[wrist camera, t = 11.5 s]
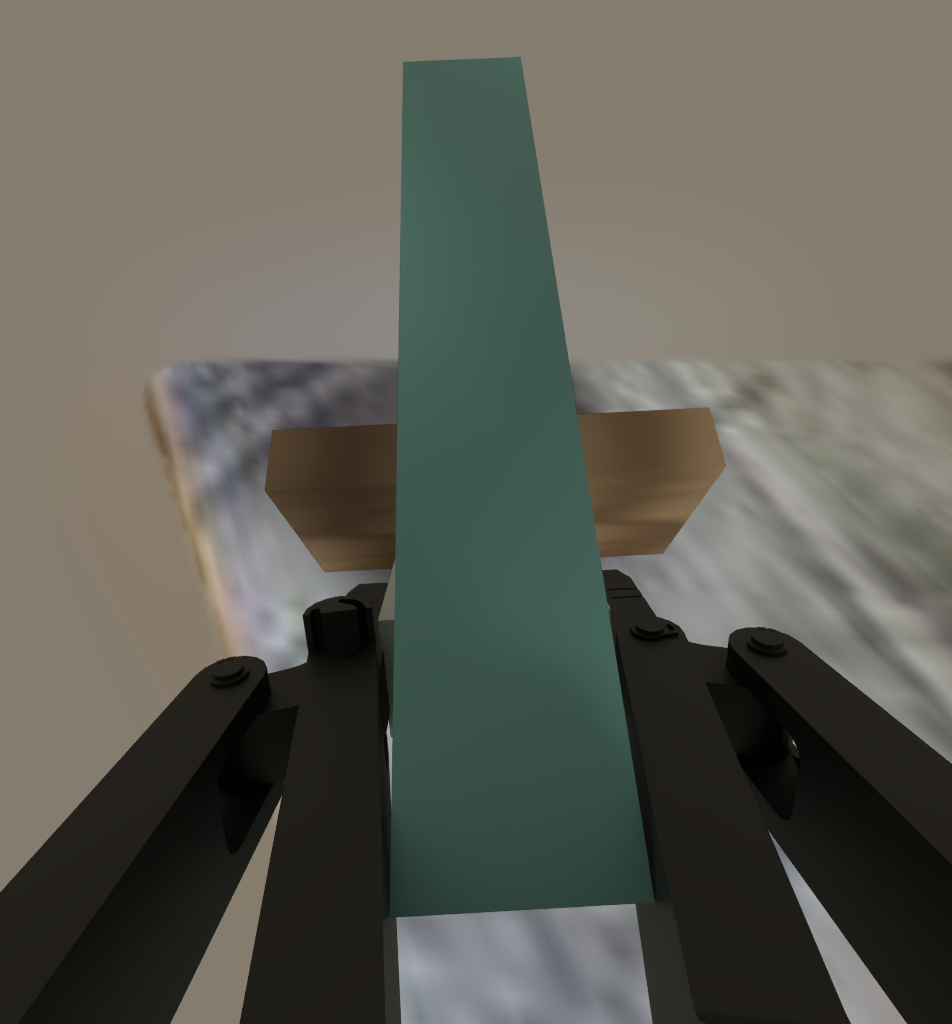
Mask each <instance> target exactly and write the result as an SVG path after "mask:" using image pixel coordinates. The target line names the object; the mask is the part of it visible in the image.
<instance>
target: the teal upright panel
mask: <svg viewBox="0 0 952 1024" xmlns="http://www.w3.org/2000/svg"><path fill="white" fill-rule="evenodd" d="M402 110H403V111H402V174H401V176H402V177H401V235H400V236H401V237H400V298H399V299H400V300H399V303H400V304H399V362H398V426H397V489H396V553H395V617H394V681H393V745H392V808H391V872H390V918H393V917H410V916H427V915H445V914H462V913H480V912H497V911H515V910H532V909H549V908H567V907H584V906H602V905H619V904H637V903H654V902H655V900H654V894H653V887H652V881H651V875H650V868H649V862H648V856H647V850H646V843H645V837H644V831H643V824H642V818H641V812H640V806H639V799H638V793H637V787H636V780H635V774H634V768H633V762H632V755H631V749H630V743H629V736H628V730H627V724H626V718H625V711H624V705H623V699H622V692H621V686H620V680H619V673H618V667H617V661H616V655H615V648H614V642H613V636H612V629H611V623H610V617H609V611H608V604H607V598H606V592H605V585H604V579H603V573H602V567H601V560H600V554H599V548H598V541H597V535H596V529H595V523H594V516H593V510H592V504H591V497H590V491H589V485H588V478H587V472H586V466H585V460H584V453H583V447H582V441H581V434H580V428H579V422H578V416H577V409H576V403H575V397H574V390H573V384H572V378H571V372H570V365H569V359H568V353H567V347H566V340H565V334H564V328H563V322H562V315H561V309H560V302H559V297H558V290H557V284H556V277H555V271H554V265H553V258H552V253H551V246H550V239H549V233H548V227H547V221H546V214H545V208H544V202H543V195H542V189H541V183H540V177H539V170H538V164H537V158H536V151H535V145H534V139H533V133H532V126H531V120H530V114H529V107H528V102H527V95H526V88H525V82H524V77H523V70H522V63H521V58H520V57H512V58H488V59H463V60H441V61H440V60H439V61H416V62H403V107H402Z"/></svg>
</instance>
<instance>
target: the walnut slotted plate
mask: <svg viewBox="0 0 952 1024" xmlns="http://www.w3.org/2000/svg"><path fill="white" fill-rule="evenodd" d="M577 416H578V422H579V428H580V434H581V441H582V447H583V453H584V460H585V466H586V472H587V478H588V485H589V491H590V497H591V504H592V510H593V516H594V523H595V529H596V535H597V541H598V548H599V554H600V557H611V556H629V555H648V554H663V553H664V551H665V550H666V548H667V547H668V546H669V544H670V543H671V542H672V540H673V539H674V537H675V536H676V535H677V533H678V532H679V530H680V529H681V528H682V526H683V525H684V524H685V522H686V521H687V519H688V518H689V517H690V515H691V514H692V512H693V511H694V510H695V508H696V507H697V505H698V504H699V503H700V501H701V500H702V499H703V497H704V496H705V494H706V493H707V492H708V490H709V489H710V487H711V486H712V485H713V483H714V482H715V481H716V479H717V478H718V476H719V475H720V474H721V472H722V471H723V469H724V468H725V467H726V464H725V461H724V457H723V454H722V450H721V447H720V443H719V440H718V436H717V433H716V429H715V426H714V422H713V419H712V415H711V412H710V408H690V409H671V410H652V411H633V412H614V413H595V414H577ZM397 426H398V424H386V425H367V426H349V427H330V428H311V429H292V430H273V432H272V440H271V447H270V455H269V462H268V470H267V477H266V485H265V491H266V493H267V494H268V496H269V497H270V498H271V500H272V501H273V502H274V504H275V505H276V506H277V508H278V509H279V511H280V512H281V513H282V515H283V516H284V517H285V519H286V520H287V521H288V523H289V524H290V526H291V527H292V528H293V530H294V531H295V532H296V534H297V535H298V536H299V538H300V539H301V541H302V542H303V543H304V545H305V546H306V547H307V549H308V550H309V551H310V553H311V554H312V556H313V557H314V558H315V560H316V561H317V562H318V564H319V565H320V566H321V568H322V569H323V571H324V572H332V571H351V570H370V569H388V568H393V565H394V561H395V553H396V489H397Z"/></svg>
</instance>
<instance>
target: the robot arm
mask: <svg viewBox="0 0 952 1024" xmlns="http://www.w3.org/2000/svg"><path fill="white" fill-rule="evenodd" d="M602 573H603V579H604V585H605V592H606V598H607V604H608V611H609V617H610V623H611V629H612V636H613V642H614V648H615V655H616V661H617V667H618V673H619V680H620V686H621V692H622V699H623V705H624V711H625V718H626V724H627V730H628V736H629V743H630V749H631V755H632V762H633V768H634V774H635V780H636V787H637V793H638V799H639V806H640V812H641V818H642V824H643V831H644V837H645V843H646V850H647V856H648V862H649V868H650V875H651V881H652V887H653V894H654V900H655V902H654V903H637V904H636V910H637V917H638V924H639V931H640V938H641V945H642V952H643V959H644V966H645V973H646V980H647V987H648V994H649V1001H650V1008H651V1015H652V1022H653V1024H851V1023H850V1021H849V1019H848V1017H847V1015H846V1013H845V1011H844V1008H843V1006H842V1004H841V1001H840V999H839V996H838V994H837V992H836V989H835V987H834V985H833V982H832V980H831V978H830V975H829V973H828V971H827V968H826V966H825V963H824V961H823V959H822V956H821V954H820V952H819V949H818V947H817V945H816V942H815V940H814V938H813V935H812V933H811V930H810V928H809V926H808V923H807V921H806V919H805V916H804V914H803V912H802V909H801V907H800V905H799V902H798V900H797V897H796V895H795V893H794V890H793V888H792V886H791V883H790V881H789V879H788V876H787V874H786V872H785V869H784V867H783V864H782V862H781V860H780V857H779V855H778V853H777V850H776V848H775V846H774V843H773V841H772V838H771V836H770V834H769V832H770V833H771V834H772V836H773V837H774V839H775V840H776V841H777V843H778V844H779V846H780V847H781V848H782V850H783V851H784V853H785V854H786V855H787V857H788V858H789V860H790V861H791V862H792V864H793V865H794V867H795V868H796V869H797V871H798V872H799V873H800V875H801V876H802V878H803V879H804V880H805V882H806V883H807V885H808V886H809V887H810V889H811V890H812V892H813V893H814V894H815V896H816V897H817V899H818V900H819V901H820V903H821V904H822V906H823V907H824V908H825V910H826V911H827V913H828V914H829V915H830V917H831V918H832V920H833V921H834V922H835V924H836V925H837V926H838V928H839V929H840V931H841V932H842V933H843V935H844V936H845V938H846V939H847V940H848V942H849V943H850V945H851V946H852V947H853V949H854V950H855V952H856V953H857V954H858V956H859V957H860V959H861V960H862V961H863V963H864V964H865V966H866V967H867V968H868V970H869V971H870V973H871V974H872V975H873V977H874V978H875V980H876V981H877V982H878V984H879V985H880V986H881V988H882V989H883V991H884V992H885V993H886V995H887V996H888V998H889V999H890V1000H891V1002H892V1003H893V1005H894V1006H895V1007H896V1009H897V1010H898V1012H899V1013H900V1014H901V1016H902V1017H903V1019H904V1020H905V1021H906V1023H907V1024H952V764H951V763H950V762H949V761H948V760H946V759H945V758H944V757H943V756H941V755H940V754H939V753H938V752H936V751H935V750H934V749H933V748H931V747H930V746H929V745H928V744H926V743H925V742H924V741H923V740H921V739H920V738H919V737H918V736H916V735H915V734H914V733H913V732H911V731H910V730H909V729H908V728H906V727H905V726H904V725H903V724H901V723H900V722H899V721H898V720H896V719H895V718H894V717H893V716H891V715H890V714H889V713H888V712H887V711H885V710H884V709H883V708H882V707H880V706H879V705H878V704H877V703H875V702H874V701H873V700H872V699H870V698H869V697H868V696H867V695H865V694H864V693H863V692H862V691H860V690H859V689H858V688H857V687H855V686H854V685H853V684H852V683H850V682H849V681H848V680H847V679H845V678H844V677H843V676H842V675H840V674H839V673H838V672H837V671H835V670H834V669H833V668H832V667H830V666H829V665H828V664H827V663H825V662H824V661H823V660H822V659H820V658H819V657H818V656H817V655H816V654H814V653H813V652H812V651H811V650H809V649H808V648H807V647H806V646H804V645H803V644H802V643H801V642H799V641H798V640H796V639H794V638H793V637H791V636H789V635H787V634H784V633H781V632H778V631H777V630H774V629H770V628H768V629H766V628H764V627H756V628H743V629H738V630H735V631H734V632H733V633H731V634H730V636H729V641H728V648H723V647H715V646H707V645H701V644H696V643H691V642H688V640H687V638H686V636H685V633H684V632H683V631H682V629H681V628H680V627H679V626H678V625H676V624H674V623H673V622H671V621H669V620H665V619H662V618H659V617H656V615H655V614H654V612H653V611H652V609H651V608H650V606H649V605H648V603H647V602H646V600H645V599H644V597H642V594H641V593H640V591H639V590H638V589H637V587H636V585H635V584H634V582H633V581H632V579H631V578H630V577H629V576H627V575H625V574H623V573H622V572H620V571H618V570H602ZM394 617H395V561H394V565H393V568H392V572H391V575H390V579H389V583H373V584H359V585H358V586H356V587H355V588H354V589H353V590H351V591H350V592H349V593H348V594H347V596H338V597H333V598H328V599H325V600H322V601H320V602H317V603H315V604H313V605H312V606H311V607H309V608H308V609H306V611H305V613H304V614H303V621H304V627H305V633H306V640H307V646H308V658H307V662H306V663H304V664H302V665H299V666H296V667H293V668H290V669H286V670H282V671H278V672H273V673H269V674H268V672H267V667H266V665H265V662H264V661H263V660H261V659H259V658H257V657H251V656H239V657H229V658H227V659H222V660H219V661H217V662H216V663H214V664H212V665H210V666H208V667H206V668H204V669H203V670H202V671H200V672H199V673H198V674H197V675H196V676H195V677H194V678H193V679H192V680H191V681H190V682H189V683H188V684H187V686H186V687H185V688H184V689H183V690H182V691H181V692H180V693H179V694H178V696H177V697H176V698H175V699H174V700H173V701H172V702H171V703H170V704H169V705H168V707H167V708H166V709H165V710H164V711H163V712H162V713H161V714H160V715H159V717H158V718H157V719H156V720H155V721H154V722H153V723H152V724H151V726H150V727H149V728H148V729H147V730H146V731H145V732H144V733H143V734H142V736H141V737H140V738H139V739H138V740H137V741H136V742H135V743H134V744H133V745H132V747H131V748H130V749H129V750H128V751H127V752H126V753H125V754H124V756H123V757H122V758H121V759H120V760H119V761H118V762H117V763H116V764H115V766H114V767H113V768H112V769H111V770H110V771H109V772H108V773H107V774H106V776H105V777H104V778H103V779H102V780H101V781H100V782H99V783H98V784H97V786H96V787H95V788H94V789H93V790H92V791H91V792H90V793H89V794H88V795H87V797H86V798H85V799H84V800H83V801H82V802H81V803H80V804H79V806H78V807H77V808H76V809H75V810H74V811H73V812H72V813H71V815H69V817H68V818H67V819H66V820H65V821H64V822H63V823H62V824H61V826H60V827H59V828H58V829H57V830H56V831H55V832H54V833H53V834H52V836H51V837H50V838H49V839H48V840H47V841H46V842H45V843H44V844H43V846H42V847H41V848H40V849H39V850H38V851H37V852H36V853H35V854H34V856H33V857H32V858H31V859H30V860H29V861H28V862H27V863H26V864H25V866H24V867H23V868H22V869H21V870H20V871H19V872H18V873H17V874H16V876H15V877H14V878H13V879H12V880H11V881H10V882H9V883H8V884H7V886H6V887H5V888H4V889H3V890H2V891H1V892H0V1024H170V1023H171V1021H172V1019H173V1017H174V1015H175V1013H176V1011H177V1009H178V1007H179V1005H180V1002H181V1001H182V998H183V997H184V994H185V992H186V990H187V988H188V986H189V984H190V982H191V980H192V978H193V976H194V974H195V972H196V970H197V968H198V966H199V964H200V962H201V960H202V958H203V956H204V954H205V952H206V949H207V947H208V945H209V943H210V941H211V939H212V937H213V935H214V933H215V931H216V929H217V927H218V925H219V923H220V921H221V919H222V917H223V915H224V913H225V910H226V908H227V907H228V904H229V902H230V900H231V898H232V896H233V894H234V892H235V890H236V888H237V886H238V884H239V882H240V880H241V878H242V876H243V874H244V872H245V870H246V868H247V865H248V864H249V861H250V859H251V857H252V855H253V853H254V851H255V849H256V847H257V845H258V843H259V841H260V839H261V837H262V835H263V833H264V831H265V829H266V827H267V825H268V823H269V821H270V819H271V817H272V814H273V812H274V810H275V808H276V806H277V804H278V802H279V800H280V798H281V796H282V798H281V804H280V809H279V814H278V820H277V825H276V831H275V836H274V841H273V847H272V852H271V857H270V863H269V868H268V874H267V879H266V884H265V890H264V895H263V900H262V906H261V912H260V917H259V922H258V927H257V933H256V938H255V943H254V949H253V954H252V960H251V965H250V970H249V976H248V981H247V986H246V992H245V997H244V1003H243V1008H242V1013H241V1019H240V1024H401V1008H400V987H399V966H398V944H397V923H396V917H393V918H390V872H391V794H390V773H389V752H388V743H387V734H386V731H387V726H388V720H389V726H390V735H391V737H393V681H394ZM793 740H794V742H795V744H796V746H797V748H796V746H795V745H794V744H793ZM768 830H769V831H768Z"/></svg>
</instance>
